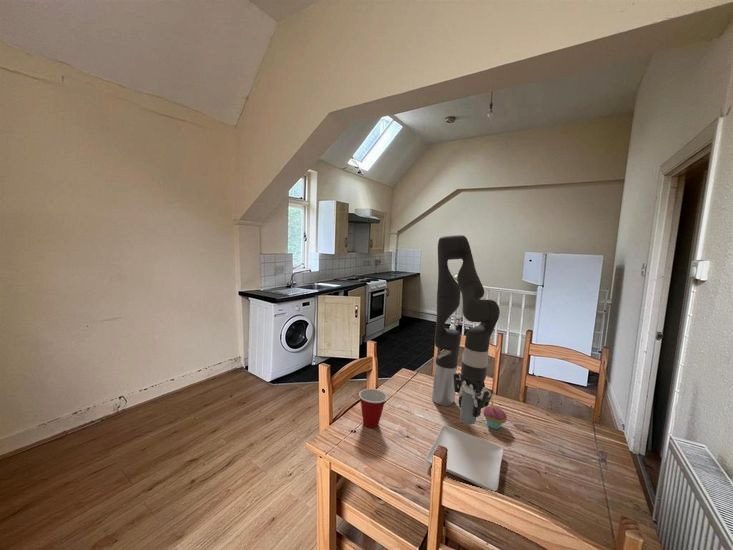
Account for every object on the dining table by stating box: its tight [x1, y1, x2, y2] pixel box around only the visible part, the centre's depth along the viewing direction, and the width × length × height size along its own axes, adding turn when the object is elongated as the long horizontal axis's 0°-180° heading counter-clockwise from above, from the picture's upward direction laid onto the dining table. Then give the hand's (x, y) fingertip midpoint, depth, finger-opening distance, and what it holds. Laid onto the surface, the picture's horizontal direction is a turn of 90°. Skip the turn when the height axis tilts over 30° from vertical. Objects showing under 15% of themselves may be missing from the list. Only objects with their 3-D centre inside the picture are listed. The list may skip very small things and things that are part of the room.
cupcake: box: [483, 396, 508, 430], centre depth 116 cm, size 9×8×12 cm
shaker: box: [459, 384, 479, 425], centre depth 94 cm, size 5×5×12 cm
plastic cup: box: [358, 388, 388, 429], centre depth 112 cm, size 11×11×12 cm
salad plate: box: [425, 424, 504, 492], centre depth 97 cm, size 21×21×3 cm
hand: (468, 411), depth 95 cm, fingers closed on shaker, 5 cm apart
